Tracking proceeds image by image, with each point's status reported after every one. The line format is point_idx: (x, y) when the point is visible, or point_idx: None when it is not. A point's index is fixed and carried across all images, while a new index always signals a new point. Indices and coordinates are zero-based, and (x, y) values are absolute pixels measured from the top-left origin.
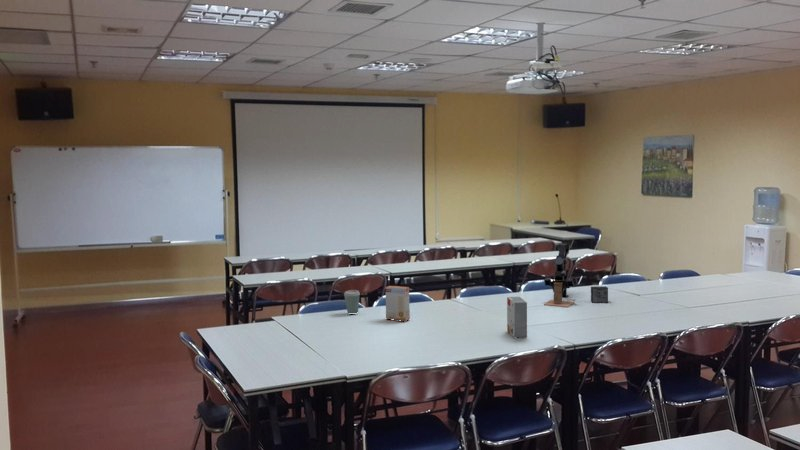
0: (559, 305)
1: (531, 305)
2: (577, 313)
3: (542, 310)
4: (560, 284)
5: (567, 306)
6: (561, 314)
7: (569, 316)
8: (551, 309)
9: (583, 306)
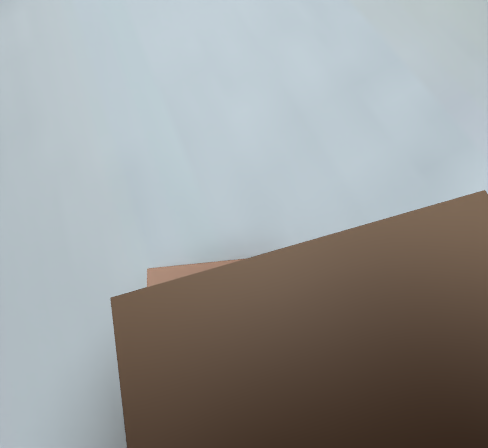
0: (230, 260)
1: (471, 183)
2: (33, 119)
3: (291, 78)
4: (181, 287)
5: (150, 269)
6: (130, 46)
7: (70, 29)
8: (249, 136)
9: (15, 419)
